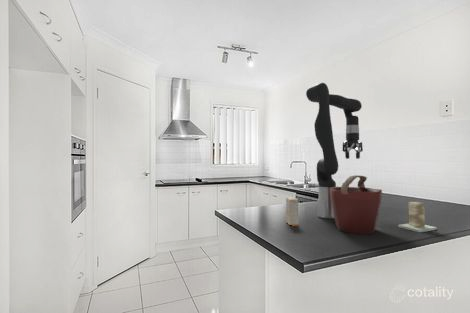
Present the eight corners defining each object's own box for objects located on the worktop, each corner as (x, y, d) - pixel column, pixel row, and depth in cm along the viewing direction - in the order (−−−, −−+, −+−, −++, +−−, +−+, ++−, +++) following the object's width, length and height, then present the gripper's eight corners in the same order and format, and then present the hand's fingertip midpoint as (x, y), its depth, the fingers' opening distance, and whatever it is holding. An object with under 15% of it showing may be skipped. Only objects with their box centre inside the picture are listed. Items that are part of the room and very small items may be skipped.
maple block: (414, 227, 120) (413, 203, 120) (409, 224, 124) (408, 201, 125) (424, 227, 119) (424, 203, 119) (419, 225, 124) (418, 202, 124)
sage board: (419, 232, 115) (419, 230, 115) (398, 227, 124) (398, 225, 124) (436, 229, 119) (436, 227, 119) (414, 224, 129) (414, 222, 129)
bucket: (353, 221, 136) (352, 173, 137) (396, 231, 117) (395, 176, 117) (320, 227, 124) (319, 175, 125) (362, 239, 105) (361, 178, 105)
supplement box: (298, 226, 127) (298, 199, 127) (289, 226, 127) (288, 199, 127) (295, 222, 135) (295, 197, 135) (286, 222, 135) (285, 197, 135)
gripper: (348, 131, 156) (348, 158, 155) (365, 132, 161) (366, 158, 161) (339, 133, 163) (339, 158, 162) (356, 133, 168) (356, 158, 168)
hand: (352, 158), depth 162 cm, fingers open, 8 cm apart
